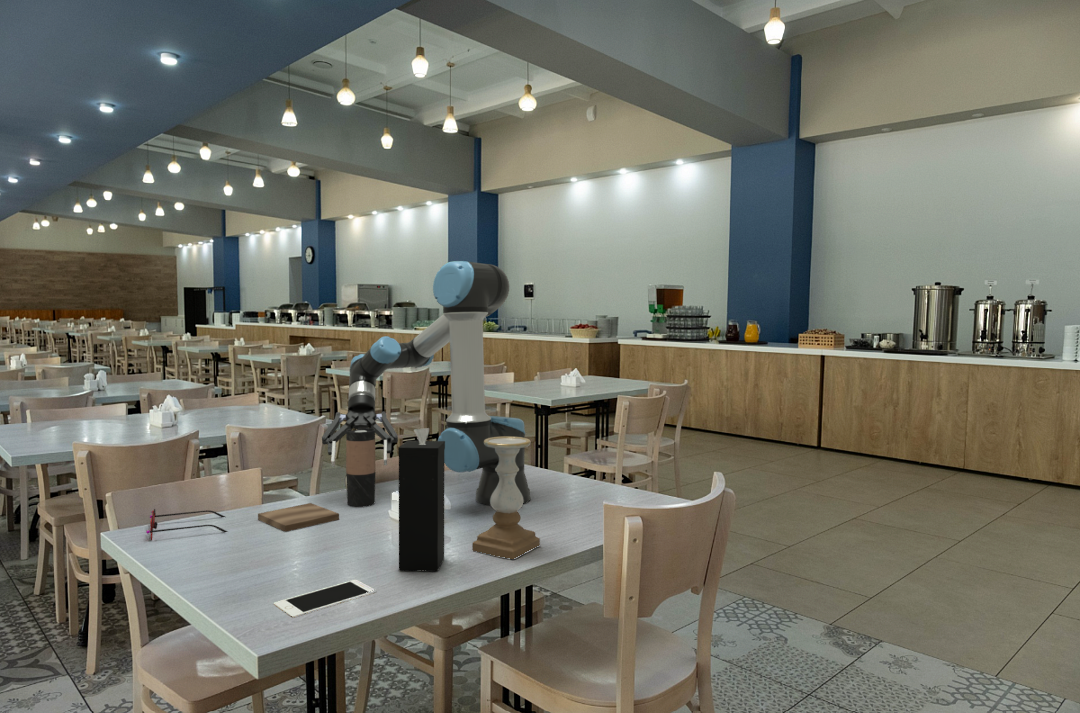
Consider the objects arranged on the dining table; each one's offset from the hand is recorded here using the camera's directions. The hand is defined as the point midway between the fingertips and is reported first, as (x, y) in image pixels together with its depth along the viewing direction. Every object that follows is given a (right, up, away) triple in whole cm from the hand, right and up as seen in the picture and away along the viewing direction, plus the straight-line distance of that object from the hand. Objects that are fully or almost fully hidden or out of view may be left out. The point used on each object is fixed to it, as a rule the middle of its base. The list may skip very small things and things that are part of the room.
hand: (359, 463), depth 184 cm
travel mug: (0, -11, +1) cm, 11 cm away
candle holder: (+41, -13, -34) cm, 55 cm away
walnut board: (-11, -12, -14) cm, 22 cm away
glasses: (-34, -13, -22) cm, 43 cm away
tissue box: (+25, -14, -45) cm, 53 cm away
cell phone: (+10, -15, -62) cm, 64 cm away
